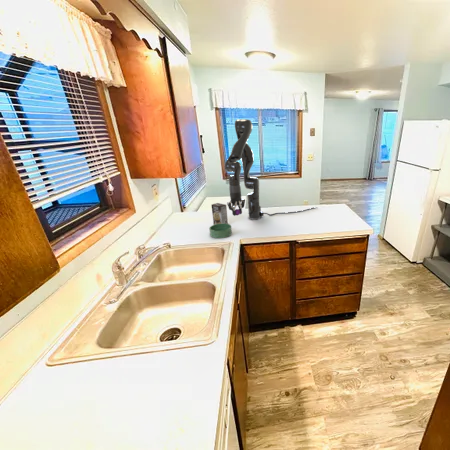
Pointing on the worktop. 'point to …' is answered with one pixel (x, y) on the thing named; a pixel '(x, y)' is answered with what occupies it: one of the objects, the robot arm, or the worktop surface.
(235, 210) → the ball
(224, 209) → the coffee box
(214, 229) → the bowl
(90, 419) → the worktop surface
